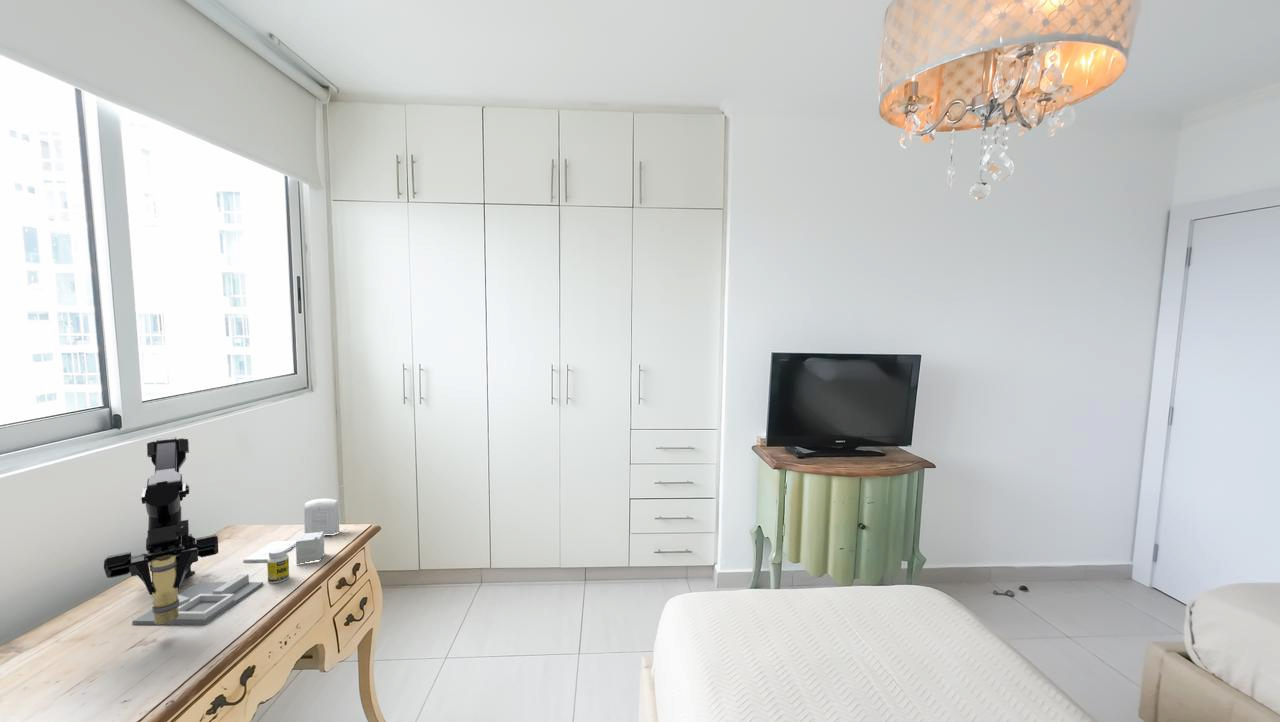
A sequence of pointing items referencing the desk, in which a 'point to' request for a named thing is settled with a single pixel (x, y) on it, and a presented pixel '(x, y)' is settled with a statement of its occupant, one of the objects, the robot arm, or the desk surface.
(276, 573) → the supplement bottle
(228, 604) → the coupling station
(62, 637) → the desk surface
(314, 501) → the photo printer
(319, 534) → the skincare box
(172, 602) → the disc
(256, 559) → the external hard drive
